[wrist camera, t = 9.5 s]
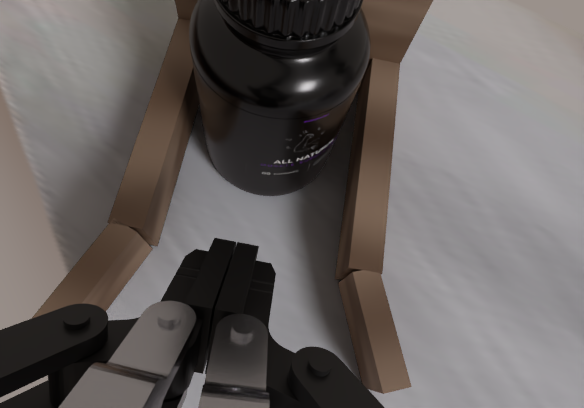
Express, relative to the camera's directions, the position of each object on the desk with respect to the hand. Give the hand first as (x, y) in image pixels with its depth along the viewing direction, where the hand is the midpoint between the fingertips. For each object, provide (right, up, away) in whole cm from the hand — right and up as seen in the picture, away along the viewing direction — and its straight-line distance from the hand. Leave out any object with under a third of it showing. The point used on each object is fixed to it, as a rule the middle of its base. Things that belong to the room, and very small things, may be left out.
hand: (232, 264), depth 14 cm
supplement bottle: (+1, +5, +9) cm, 11 cm away
